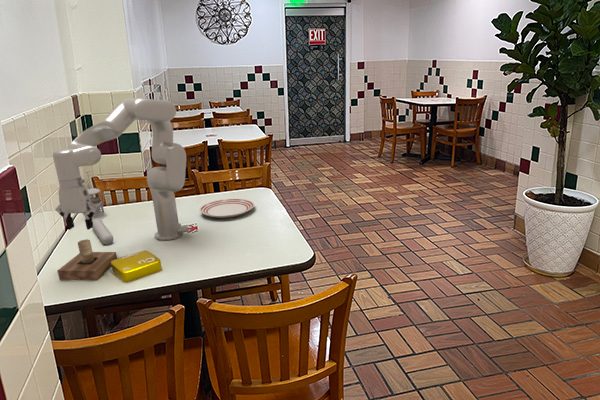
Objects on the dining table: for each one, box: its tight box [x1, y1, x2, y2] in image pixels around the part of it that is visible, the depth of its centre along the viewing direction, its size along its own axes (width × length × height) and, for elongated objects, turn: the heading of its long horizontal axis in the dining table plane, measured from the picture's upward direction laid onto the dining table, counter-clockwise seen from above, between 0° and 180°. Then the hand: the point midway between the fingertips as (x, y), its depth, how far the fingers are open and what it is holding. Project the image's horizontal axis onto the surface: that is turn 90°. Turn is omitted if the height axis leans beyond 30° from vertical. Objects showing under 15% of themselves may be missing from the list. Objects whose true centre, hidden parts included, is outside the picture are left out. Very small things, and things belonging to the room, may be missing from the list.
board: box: [57, 251, 118, 281], centre depth 181 cm, size 15×16×4 cm
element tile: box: [111, 250, 163, 283], centre depth 179 cm, size 15×15×5 cm
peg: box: [77, 238, 94, 264], centre depth 179 cm, size 4×4×12 cm
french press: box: [85, 169, 108, 221], centre depth 236 cm, size 10×12×25 cm
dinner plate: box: [199, 198, 255, 219], centre depth 236 cm, size 28×27×3 cm
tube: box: [91, 219, 115, 245], centre depth 213 cm, size 5×5×25 cm
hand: (80, 227), depth 176 cm, fingers open, 6 cm apart
